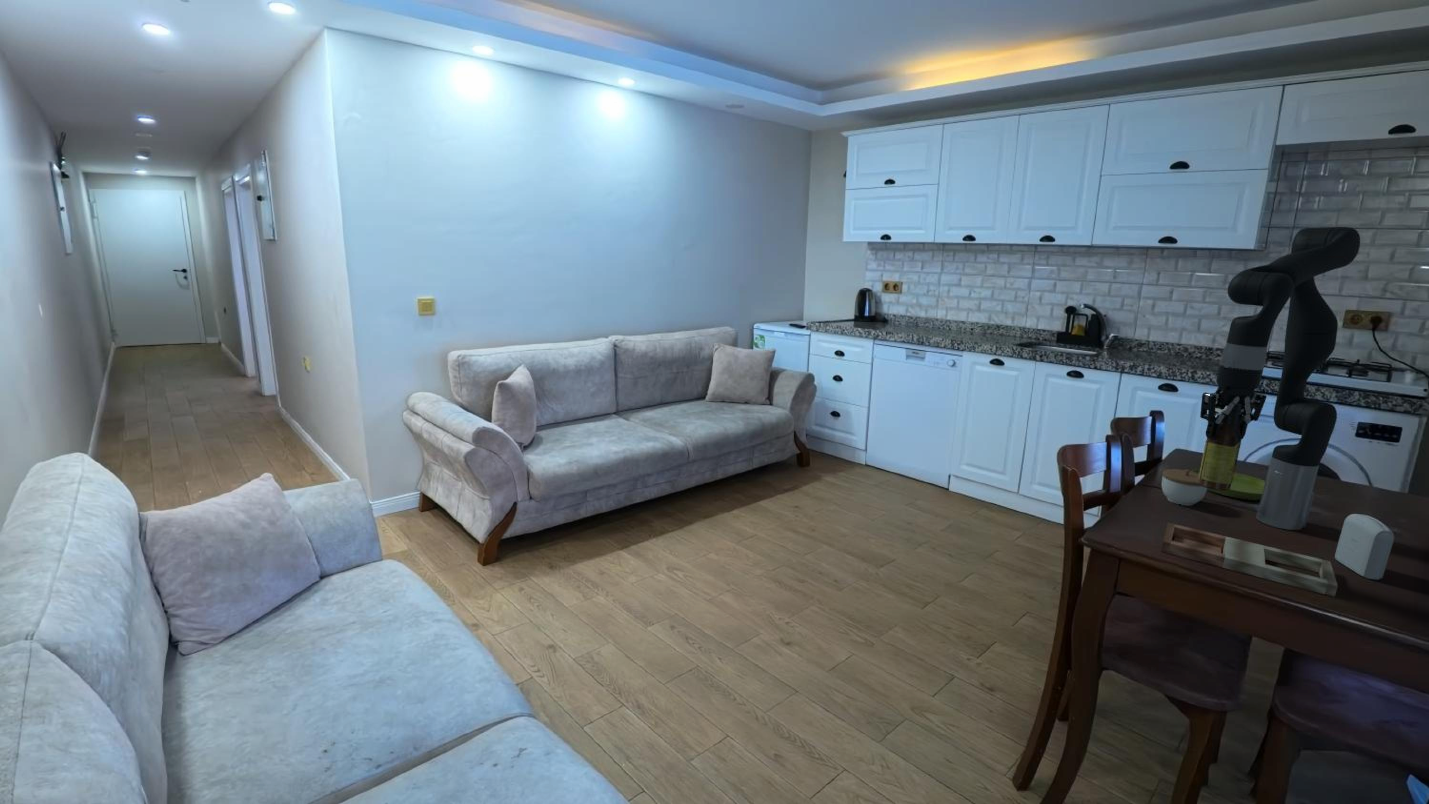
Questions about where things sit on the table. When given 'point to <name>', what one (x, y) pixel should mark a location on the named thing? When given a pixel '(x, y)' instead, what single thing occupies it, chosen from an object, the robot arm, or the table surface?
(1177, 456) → the table surface
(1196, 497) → the lidded jar
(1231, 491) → the saucer
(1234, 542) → the birch rail plate
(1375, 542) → the photo printer
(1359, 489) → the table surface
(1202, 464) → the sauce bottle
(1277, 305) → the robot arm
